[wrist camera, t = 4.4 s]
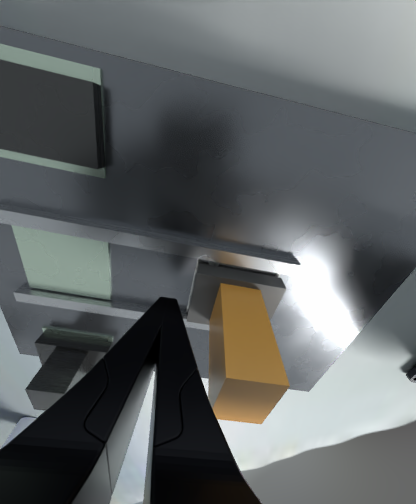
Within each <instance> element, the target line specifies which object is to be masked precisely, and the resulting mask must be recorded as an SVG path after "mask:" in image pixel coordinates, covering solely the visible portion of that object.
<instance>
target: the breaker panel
mask: <svg viewBox="0 0 416 504" xmlns="http://www.w3.org/2000/svg"><path fill="white" fill-rule="evenodd" d="M198 263H202V264H207V265H213V266H218V267H224V268H230V269H235V270H241V271H246V272H252V273H257V274H263V275H269V276H274V277H280V278H282V280H283V282H284V284H285V287H286V291H285V293H284V295H283V297H282V299H281V301H280V303H279V305H278V307H277V309H276V311H275V313H274V314H273V316H272V318H271V320H270V323H271V326H272V329H273V333H274V336H275V339H276V342H277V346H278V349H279V352H280V355H281V359H282V362H283V365H284V368H285V372H286V375H287V378H288V381H289V385H290V387H289V388H288V389H293V390H300V391H308V392H309V391H310V390H311V388H312V387H313V386H314V385H315V384H316V383H317V381H318V380H319V379H320V378H321V377H322V376H323V375H324V373H325V372H326V371H327V370H328V369H329V368H330V366H331V365H332V364H333V363H334V362H335V361H336V359H337V358H338V357H339V356H340V355H341V354H342V352H343V351H344V350H345V349H346V348H347V347H348V345H349V344H350V343H351V342H352V341H353V340H354V338H355V337H356V336H357V335H358V334H359V333H360V332H361V330H362V329H363V328H364V327H365V326H366V325H367V323H368V322H369V321H370V320H371V319H372V318H373V316H374V315H375V314H376V313H377V312H378V311H379V309H380V308H381V307H382V306H383V305H384V304H385V302H386V301H387V300H388V299H389V298H390V297H391V296H392V294H393V293H394V292H395V291H396V290H397V289H398V287H399V286H400V285H401V284H402V283H403V282H404V280H405V279H406V278H407V277H408V276H409V275H410V273H411V272H412V271H413V270H414V269H415V268H416V133H413V132H409V131H405V130H401V129H397V128H393V127H389V126H385V125H382V124H378V123H374V122H370V121H366V120H362V119H358V118H355V117H351V116H347V115H343V114H339V113H335V112H331V111H327V110H324V109H320V108H316V107H312V106H308V105H304V104H300V103H296V102H293V101H289V100H285V99H281V98H277V97H273V96H269V95H265V94H262V93H258V92H254V91H250V90H246V89H242V88H238V87H235V86H231V85H227V84H223V83H219V82H215V81H211V80H207V79H204V78H200V77H196V76H192V75H188V74H184V73H180V72H176V71H173V70H169V69H165V68H161V67H157V66H153V65H149V64H146V63H142V62H138V61H134V60H130V59H126V58H122V57H118V56H115V55H111V54H107V53H103V52H99V51H95V50H91V49H87V48H84V47H80V46H76V45H72V44H68V43H64V42H60V41H57V40H53V39H49V38H45V37H41V36H37V35H33V34H29V33H26V32H22V31H18V30H14V29H10V28H6V27H2V26H0V307H1V309H2V311H3V314H4V316H5V319H6V321H7V323H8V326H9V328H10V331H11V333H12V336H13V338H14V340H15V343H16V345H17V348H18V350H19V352H20V354H26V355H33V356H39V358H40V361H41V364H42V367H41V368H40V370H39V371H38V373H37V374H36V375H35V377H34V378H33V379H32V381H31V382H30V384H29V385H28V386H27V388H26V389H25V390H26V392H27V394H28V397H29V399H30V401H31V403H32V405H33V408H34V409H37V410H47V409H48V408H49V407H50V406H52V405H53V404H54V403H55V402H56V401H57V400H58V399H60V398H61V397H62V396H63V395H64V394H65V393H66V392H67V391H68V390H70V389H71V388H72V387H73V386H74V385H75V384H76V383H77V382H78V381H79V380H80V379H81V378H82V377H83V376H84V375H85V374H86V373H87V372H88V371H89V370H90V369H91V368H92V367H93V366H94V365H95V364H96V363H97V362H98V361H99V360H100V359H101V358H103V356H104V355H105V354H106V353H107V352H108V351H109V350H110V349H111V348H112V347H113V346H114V345H115V343H116V342H117V341H118V340H119V339H120V338H121V337H122V336H123V335H124V334H125V333H126V332H127V331H128V330H129V329H130V328H131V327H132V326H133V325H134V324H135V323H136V321H137V320H138V319H139V318H140V317H141V316H142V315H143V314H144V313H145V312H146V311H147V310H148V309H149V308H150V307H151V306H152V305H153V304H154V303H155V302H156V300H157V299H158V298H159V297H161V296H162V297H168V298H175V299H177V301H178V304H179V307H180V310H181V314H182V317H183V320H184V324H185V327H186V330H187V334H188V337H189V340H190V343H191V347H192V350H193V353H194V357H195V360H196V363H197V367H198V370H199V373H200V376H201V378H209V325H206V324H200V323H193V322H187V313H188V307H189V303H190V298H191V293H192V289H193V284H194V279H195V275H196V270H197V265H198ZM155 369H156V365H155V368H154V371H155Z"/></svg>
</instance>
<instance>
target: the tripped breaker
mask: <svg viewBox="0 0 416 504" xmlns="http://www.w3.org/2000/svg"><path fill="white" fill-rule="evenodd" d="M285 291H286V287H285V284H284V282H283V280H282V278H280V277H274V276H269V275H263V274H257V273H252V272H246V271H241V270H235V269H230V268H224V267H218V266H213V265H207V264H202V263H198V265H197V270H196V275H195V279H194V284H193V289H192V293H191V298H190V303H189V307H188V313H187V322H193V323H200V324H206V325H209V391H208V399H209V402H210V404H211V407H212V409H213V412H214V414H215V416H216V418H217V419H221V420H229V421H238V422H247V423H256V424H262V423H263V421H264V420H265V419H266V417H267V416H268V415H269V413H270V412H271V411H272V409H273V408H274V407H275V405H276V404H277V403H278V401H279V400H280V399H281V397H282V396H283V395H284V393H285V392H286V391H287V389H288V388H289V387H290V385H289V381H288V378H287V375H286V372H285V368H284V365H283V362H282V359H281V355H280V352H279V349H278V346H277V342H276V339H275V336H274V333H273V329H272V326H271V323H270V320H271V318H272V316H273V314H274V313H275V311H276V309H277V307H278V305H279V303H280V301H281V299H282V297H283V295H284V293H285Z"/></svg>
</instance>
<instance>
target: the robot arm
mask: <svg viewBox="0 0 416 504" xmlns="http://www.w3.org/2000/svg"><path fill="white" fill-rule="evenodd" d="M155 365H156V369H155V380H154V391H153V402H152V412H151V423H150V434H149V445H148V456H147V467H146V477H145V488H144V500H143V504H263V503H262V502H261V501H260V499H259V498H258V497H257V495H256V494H255V493H254V491H253V490H252V488H251V487H250V486H249V484H248V483H247V481H246V480H245V478H244V476H243V475H242V473H241V471H240V469H239V467H238V465H237V463H236V461H235V459H234V457H233V455H232V453H231V450H230V448H229V446H228V444H227V441H226V439H225V437H224V434H223V432H222V430H221V428H220V425H219V423H218V421H217V418H216V416H215V414H214V412H213V409H212V407H211V404H210V402H209V399H208V397H207V394H206V391H205V388H204V385H203V382H202V379H201V376H200V373H199V370H198V367H197V363H196V360H195V357H194V353H193V350H192V347H191V343H190V340H189V337H188V334H187V330H186V327H185V324H184V320H183V317H182V314H181V310H180V307H179V304H178V301H177V299H175V298H168V297H162V296H161V297H159V298H158V299H157V300H156V302H155V303H154V304H153V305H152V306H151V307H150V308H149V309H148V310H147V311H146V312H145V313H144V314H143V315H142V316H141V317H140V318H139V319H138V320H137V321H136V323H135V324H134V325H133V326H132V327H131V328H130V329H129V330H128V331H127V332H126V333H125V334H124V335H123V336H122V337H121V338H120V339H119V340H118V341H117V342H116V343H115V345H114V346H113V347H112V348H111V349H110V350H109V351H108V352H107V353H106V354H105V355H104V356H103V358H101V359H100V360H99V361H98V362H97V363H96V364H95V365H94V366H93V367H92V368H91V369H90V370H89V371H88V372H87V373H86V374H85V375H84V376H83V377H82V378H81V379H80V380H79V381H78V382H77V383H76V384H75V385H74V386H73V387H72V388H71V389H70V390H68V391H67V392H66V393H65V394H64V395H63V396H62V397H61V398H60V399H58V400H57V401H56V402H55V403H54V404H53V405H52V406H50V407H49V408H48V409H47V410H46V411H45V412H43V413H42V414H41V415H40V416H39V417H38V418H37V419H35V420H34V421H33V422H32V423H31V424H30V425H29V426H27V427H26V428H25V429H24V430H23V431H22V432H21V433H19V434H18V435H17V436H16V437H15V438H14V439H12V440H11V441H10V442H9V443H8V444H6V445H5V446H4V447H3V448H1V449H0V504H109V503H110V500H111V496H112V494H113V491H114V488H115V485H116V482H117V479H118V476H119V473H120V470H121V467H122V464H123V461H124V458H125V455H126V452H127V449H128V446H129V443H130V440H131V437H132V434H133V431H134V428H135V425H136V422H137V419H138V416H139V413H140V410H141V407H142V404H143V401H144V398H145V395H146V392H147V389H148V386H149V383H150V380H151V377H152V374H153V371H154V368H155ZM406 376H407V378H408V379H409V380H410V381H411V382H415V383H416V366H415V367H414V368H413V369H411V370H410V371H409V372H408V373H407V374H406Z"/></svg>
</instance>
